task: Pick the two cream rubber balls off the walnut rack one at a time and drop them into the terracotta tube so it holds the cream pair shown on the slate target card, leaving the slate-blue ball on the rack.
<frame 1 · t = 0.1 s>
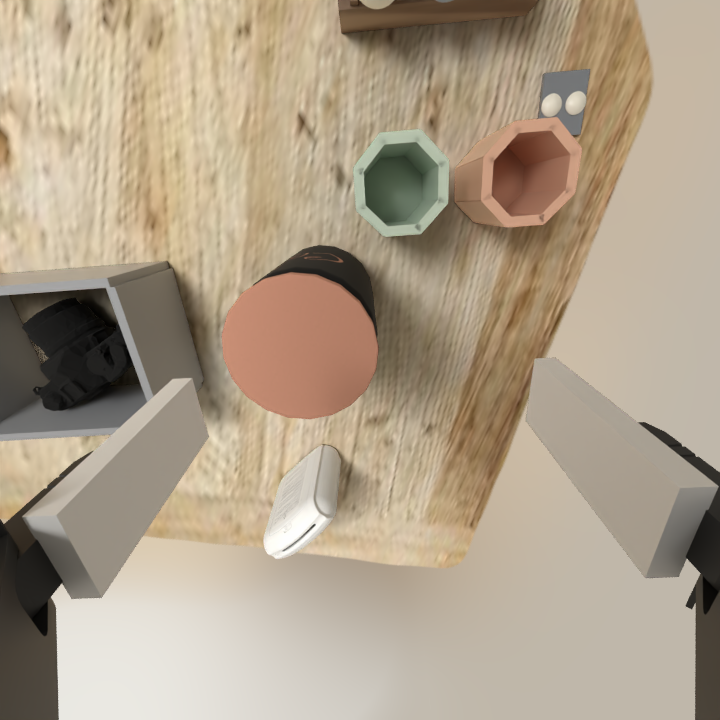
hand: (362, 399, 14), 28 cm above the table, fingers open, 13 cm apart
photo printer: (310, 467, 51), on the table
tubes: (491, 182, 36), on the table
rack: (433, 6, 30), on the table
coffee jar: (325, 292, 40), on the table
film camera: (109, 334, 43), resting in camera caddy
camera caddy: (105, 333, 42), on the table
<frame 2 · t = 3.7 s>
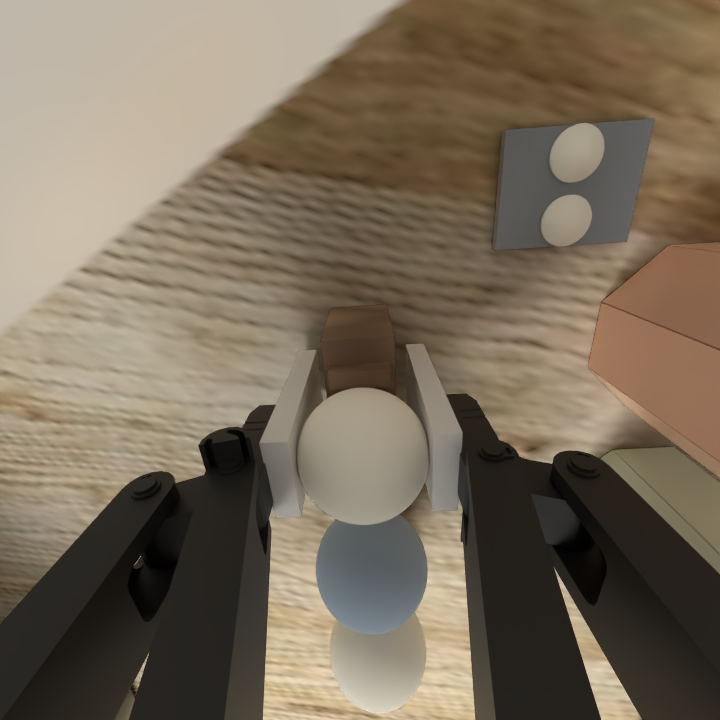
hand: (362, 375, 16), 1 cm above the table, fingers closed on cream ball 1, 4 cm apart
blue ball: (370, 519, 15), point 4 cm above the table, touching rack
tubes: (680, 331, 15), on the table
rack: (368, 456, 18), on the table
cream ball 1: (362, 417, 13), point 4 cm above the table, touching gripper, rack
cream ball 2: (375, 597, 17), point 4 cm above the table, touching rack
when the fingers open (10 cm above the table, at t = 5.9 s): cream ball 1 drops 13 cm, resting on tubes.
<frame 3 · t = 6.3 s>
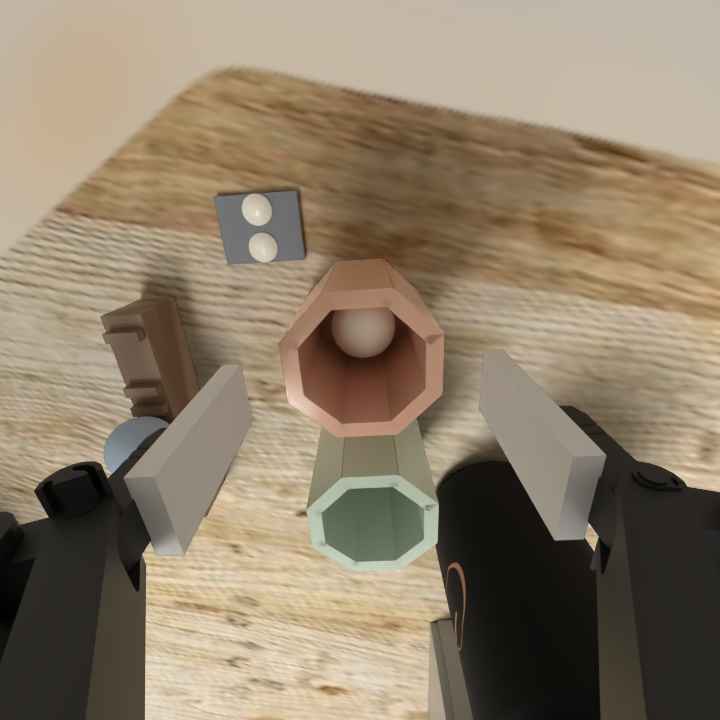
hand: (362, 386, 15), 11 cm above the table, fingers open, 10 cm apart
blue ball: (160, 430, 24), point 4 cm above the table, touching rack
tubes: (362, 314, 25), on the table
rack: (187, 400, 27), on the table
coffee jar: (486, 500, 32), on the table
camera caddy: (494, 671, 42), on the table
cream ball 1: (362, 316, 24), point 1 cm above the table, touching tubes
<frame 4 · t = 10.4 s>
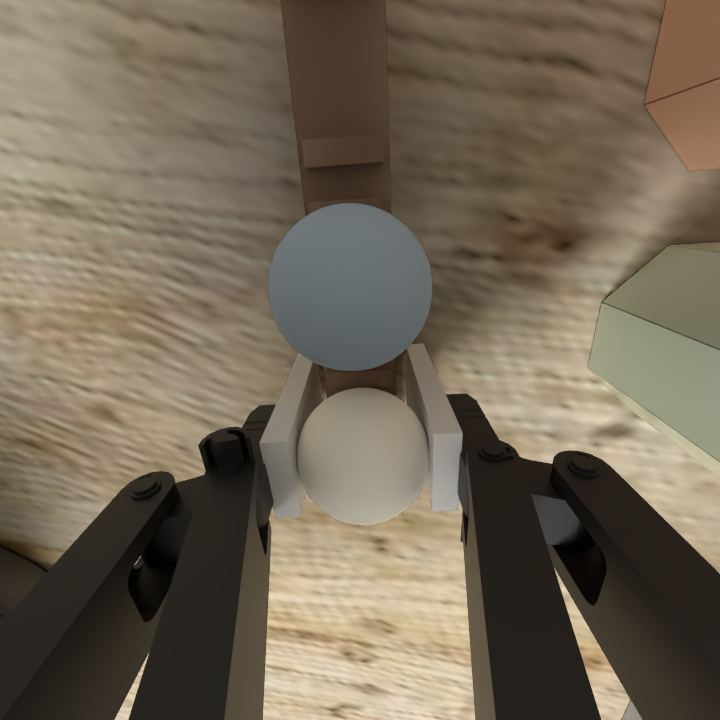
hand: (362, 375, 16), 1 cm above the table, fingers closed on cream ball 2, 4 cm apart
blue ball: (352, 276, 11), point 4 cm above the table, touching rack
rack: (355, 258, 14), on the table
cream ball 2: (362, 417, 13), point 4 cm above the table, touching gripper, rack
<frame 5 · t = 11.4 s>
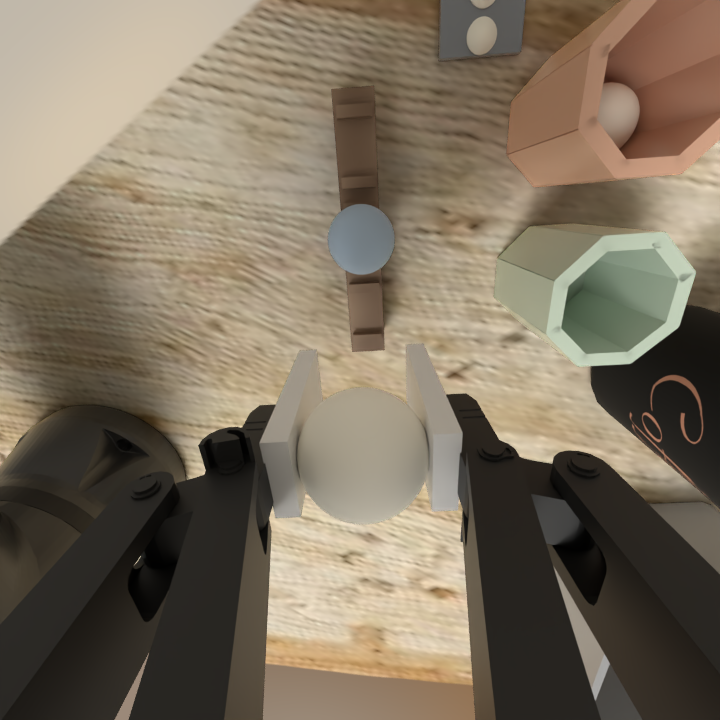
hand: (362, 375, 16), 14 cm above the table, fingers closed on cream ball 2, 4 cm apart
blue ball: (361, 237, 23), point 4 cm above the table, touching rack
tubes: (564, 124, 24), on the table
rack: (362, 233, 27), on the table
coffee jar: (645, 360, 31), on the table
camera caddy: (613, 570, 41), on the table
cream ball 1: (571, 122, 23), point 1 cm above the table, tilted 26°, touching tubes
cream ball 2: (362, 416, 13), point 18 cm above the table, touching gripper
when the fingers open (10 cm above the table, at t = 12.8 s): cream ball 2 drops 9 cm and tips over, resting on cream ball 1, tubes.
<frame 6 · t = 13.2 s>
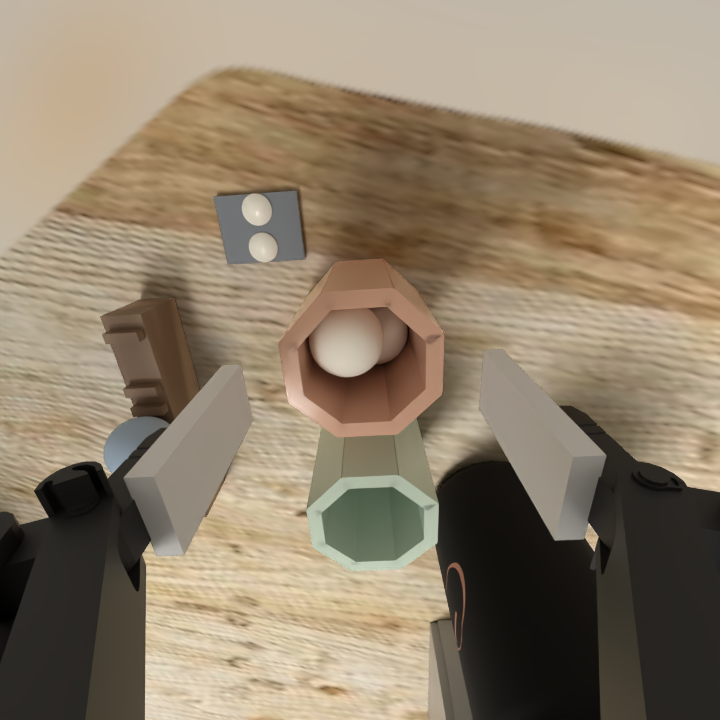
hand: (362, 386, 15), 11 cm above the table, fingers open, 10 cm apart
blue ball: (160, 430, 24), point 4 cm above the table, touching rack
tubes: (362, 314, 25), on the table
rack: (187, 400, 27), on the table
coffee jar: (486, 500, 32), on the table
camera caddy: (494, 671, 42), on the table
cream ball 1: (363, 317, 24), point 1 cm above the table, tilted 27°, touching cream ball 2, tubes
cream ball 2: (366, 339, 20), point 5 cm above the table, tilted 38°, touching cream ball 1, tubes
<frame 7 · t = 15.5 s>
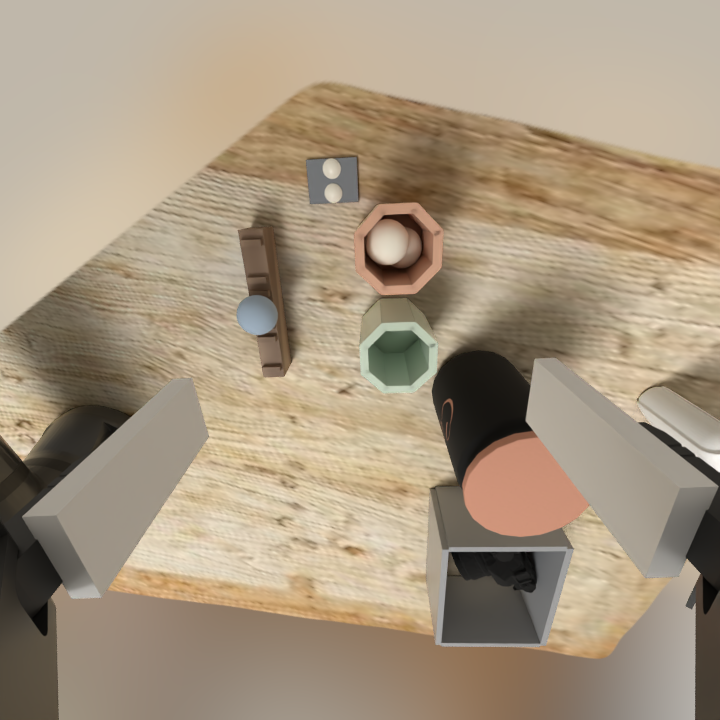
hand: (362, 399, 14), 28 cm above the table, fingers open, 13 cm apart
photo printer: (662, 413, 46), on the table
blue ball: (263, 309, 37), point 4 cm above the table, touching rack
tubes: (392, 240, 38), on the table
rack: (272, 300, 41), on the table
coffee jar: (472, 384, 45), on the table
film camera: (479, 526, 55), resting in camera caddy
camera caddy: (477, 535, 56), on the table
cream ball 1: (393, 241, 37), point 1 cm above the table, tilted 27°, touching cream ball 2, tubes
cream ball 2: (397, 247, 34), point 5 cm above the table, tilted 38°, touching cream ball 1, tubes
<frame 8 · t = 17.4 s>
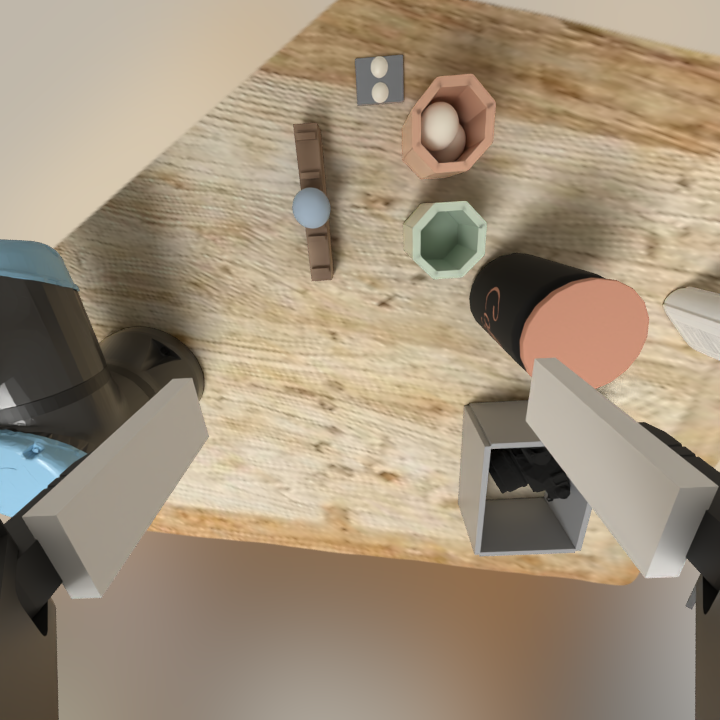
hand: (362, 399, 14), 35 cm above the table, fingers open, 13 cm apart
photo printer: (686, 317, 48), on the table
blue ball: (313, 208, 39), point 4 cm above the table, touching rack
tubes: (434, 142, 40), on the table
rack: (318, 208, 43), on the table
coffee jar: (506, 292, 47), on the table
film camera: (511, 445, 57), resting in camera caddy
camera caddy: (508, 455, 58), on the table
cream ball 1: (436, 141, 39), point 1 cm above the table, tilted 27°, touching cream ball 2, tubes
cream ball 2: (445, 136, 36), point 5 cm above the table, tilted 38°, touching cream ball 1, tubes
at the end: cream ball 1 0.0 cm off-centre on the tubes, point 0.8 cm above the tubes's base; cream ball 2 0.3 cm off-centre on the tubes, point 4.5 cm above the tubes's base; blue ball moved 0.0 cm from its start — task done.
